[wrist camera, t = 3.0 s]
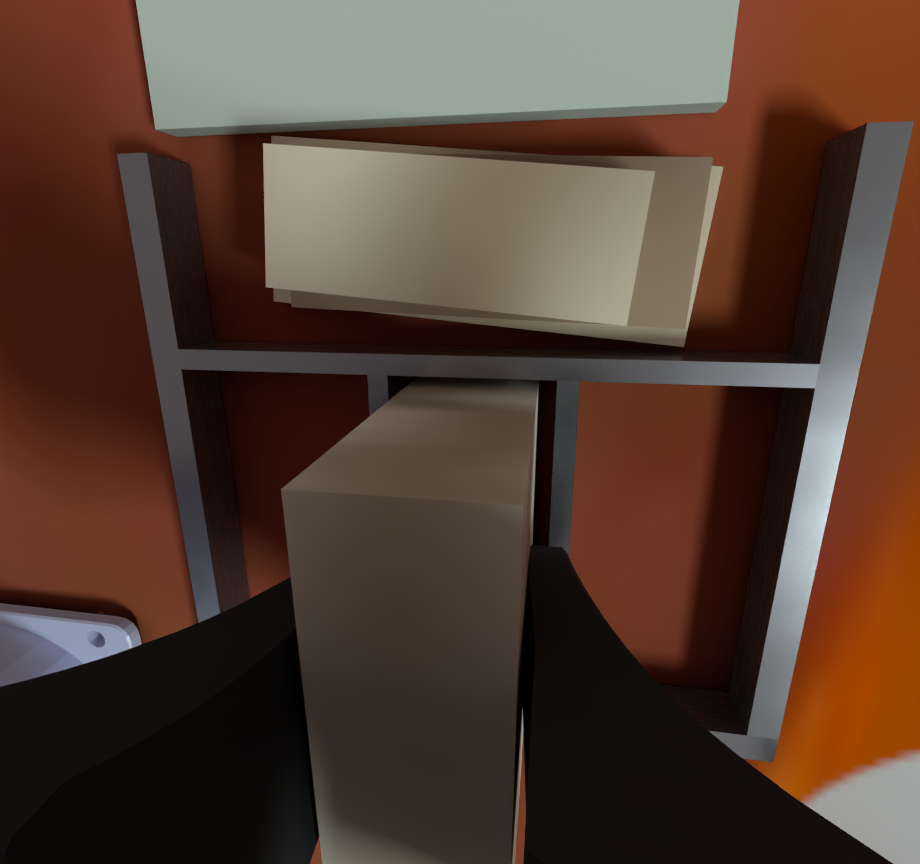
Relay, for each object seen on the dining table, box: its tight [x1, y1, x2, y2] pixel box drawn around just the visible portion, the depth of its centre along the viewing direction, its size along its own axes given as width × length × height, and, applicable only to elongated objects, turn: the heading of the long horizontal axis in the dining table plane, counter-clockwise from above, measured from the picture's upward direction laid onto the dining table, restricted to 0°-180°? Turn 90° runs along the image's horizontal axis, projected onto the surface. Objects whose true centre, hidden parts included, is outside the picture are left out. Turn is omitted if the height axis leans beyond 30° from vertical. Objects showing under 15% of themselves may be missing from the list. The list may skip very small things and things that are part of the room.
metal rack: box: [117, 121, 914, 762], centre depth 11 cm, size 13×12×1 cm
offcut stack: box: [263, 136, 723, 347], centre depth 10 cm, size 8×3×2 cm, turn 85°
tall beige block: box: [281, 376, 539, 864], centre depth 9 cm, size 2×7×6 cm, turn 0°
